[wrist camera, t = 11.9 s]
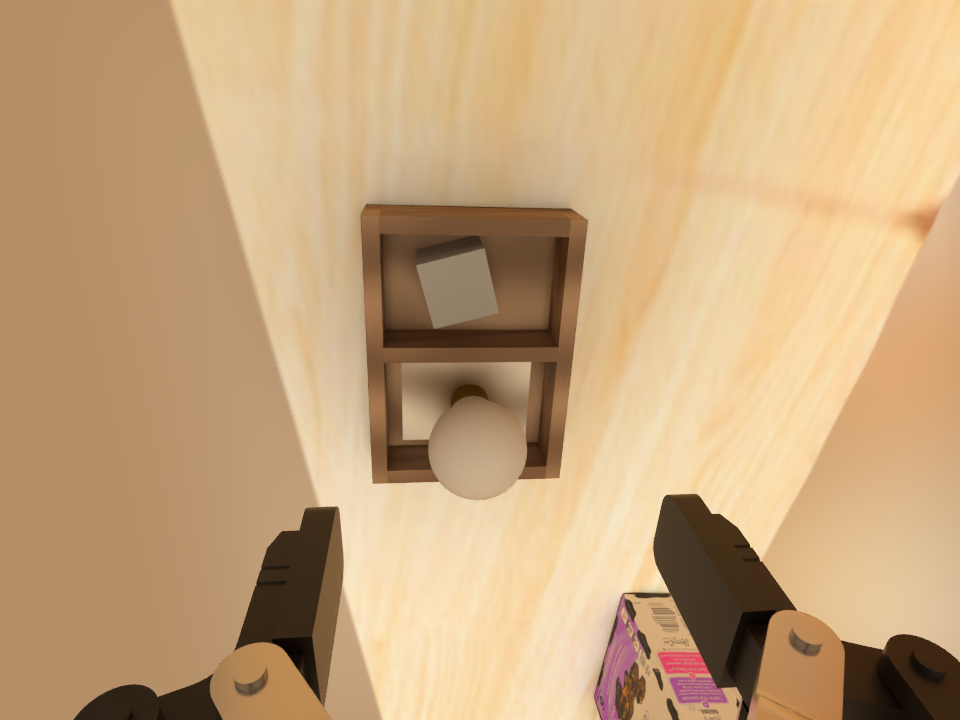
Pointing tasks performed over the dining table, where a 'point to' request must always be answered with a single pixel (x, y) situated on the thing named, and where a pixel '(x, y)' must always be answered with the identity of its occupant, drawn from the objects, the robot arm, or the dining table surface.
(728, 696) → the candy box
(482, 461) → the light bulb
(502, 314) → the box
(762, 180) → the dining table surface
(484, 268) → the grey cube
